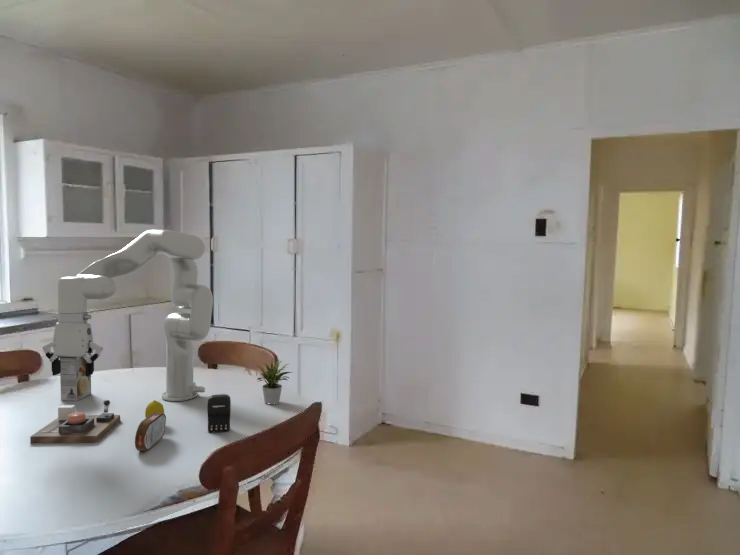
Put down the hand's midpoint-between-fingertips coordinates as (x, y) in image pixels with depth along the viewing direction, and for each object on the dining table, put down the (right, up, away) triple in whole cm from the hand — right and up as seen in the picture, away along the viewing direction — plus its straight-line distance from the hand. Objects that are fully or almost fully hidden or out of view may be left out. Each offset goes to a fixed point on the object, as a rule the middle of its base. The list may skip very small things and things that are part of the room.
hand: (72, 374), depth 157 cm
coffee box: (-19, -15, +35) cm, 43 cm away
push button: (+2, -14, -1) cm, 14 cm away
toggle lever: (+6, -14, +7) cm, 17 cm away
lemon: (+21, -18, +9) cm, 29 cm away
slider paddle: (-5, -15, +6) cm, 17 cm away
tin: (+26, -19, -7) cm, 33 cm away
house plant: (+53, -17, +33) cm, 65 cm away
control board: (0, -18, +2) cm, 18 cm away
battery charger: (+42, -19, +5) cm, 47 cm away
